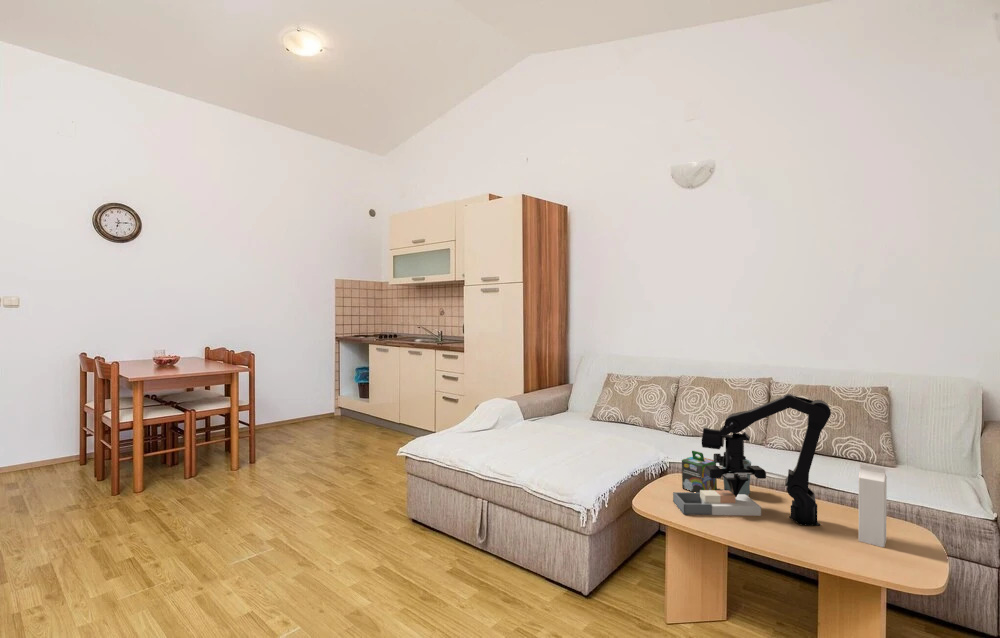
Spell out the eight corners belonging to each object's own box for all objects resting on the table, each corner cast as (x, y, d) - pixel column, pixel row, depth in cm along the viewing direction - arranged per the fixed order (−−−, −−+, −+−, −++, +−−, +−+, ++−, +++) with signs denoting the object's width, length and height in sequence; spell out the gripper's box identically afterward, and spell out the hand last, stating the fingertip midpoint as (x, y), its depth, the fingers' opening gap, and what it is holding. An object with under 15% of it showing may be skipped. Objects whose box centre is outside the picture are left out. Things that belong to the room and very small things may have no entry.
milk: (861, 534, 147) (861, 461, 147) (886, 540, 143) (886, 466, 143) (858, 541, 142) (858, 466, 142) (884, 548, 138) (884, 470, 138)
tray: (699, 502, 172) (699, 492, 172) (711, 515, 161) (711, 504, 161) (673, 502, 173) (673, 492, 173) (683, 514, 162) (683, 504, 162)
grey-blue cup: (741, 499, 175) (741, 466, 175) (715, 490, 184) (715, 459, 184) (756, 493, 181) (756, 461, 181) (731, 485, 189) (731, 454, 189)
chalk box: (717, 491, 183) (717, 452, 183) (702, 496, 178) (702, 456, 178) (695, 484, 191) (695, 446, 191) (681, 488, 186) (681, 450, 186)
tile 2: (729, 497, 169) (729, 490, 169) (735, 502, 164) (735, 495, 164) (714, 497, 169) (714, 490, 169) (720, 502, 164) (720, 495, 164)
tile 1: (714, 497, 169) (714, 490, 169) (720, 502, 164) (720, 495, 164) (699, 497, 169) (699, 490, 169) (705, 502, 164) (705, 495, 164)
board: (745, 502, 172) (745, 494, 172) (761, 515, 161) (761, 506, 161) (699, 502, 172) (699, 493, 172) (712, 515, 161) (712, 506, 161)
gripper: (751, 445, 174) (751, 488, 174) (698, 444, 175) (698, 488, 175) (767, 454, 163) (767, 500, 163) (710, 453, 164) (710, 499, 164)
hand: (734, 496), depth 167 cm, fingers closed
